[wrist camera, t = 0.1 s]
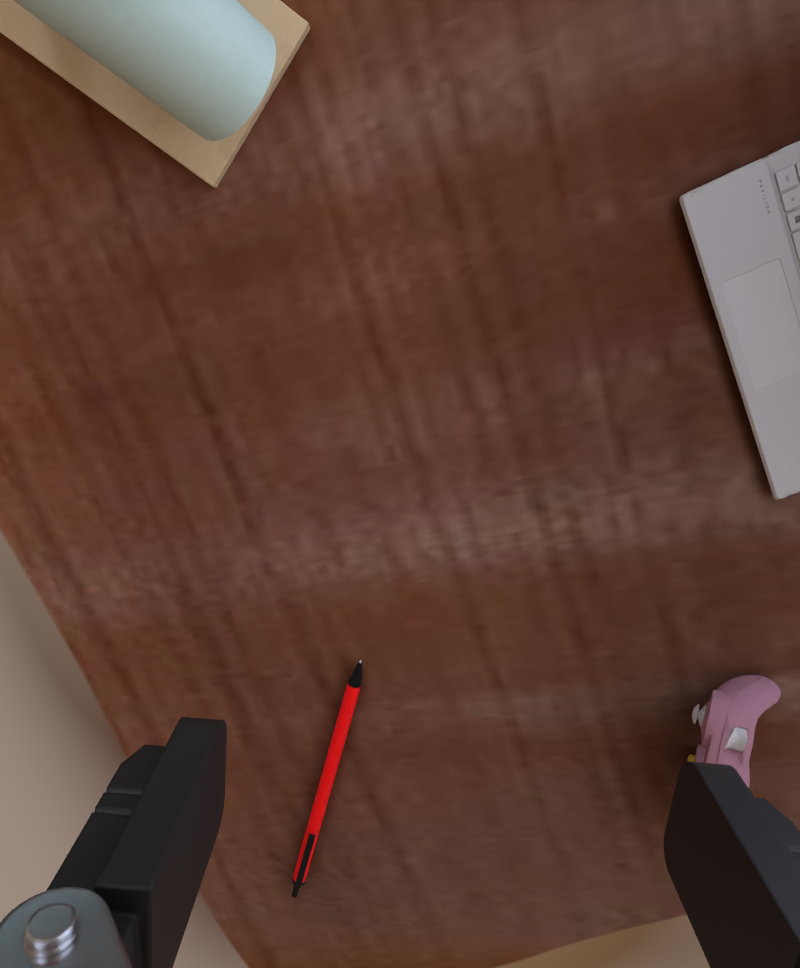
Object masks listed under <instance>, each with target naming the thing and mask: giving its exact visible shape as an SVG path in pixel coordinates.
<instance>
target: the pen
mask: <svg viewBox="0 0 800 968" xmlns="http://www.w3.org/2000/svg"><path fill="white" fill-rule="evenodd" d="M361 680H362V660H360V662H358V664H357V666H356V668H355V670H354V671H353V673H352V675H351V677H350V679H349V680H348V682H347V686H346V689H345V693H344V697H343V700H342V704H341V707H340V711H339V714H338V718H337V722H336V725H335V729H334V732H333V736H332V739H331V743H330V746H329V750H328V754H327V757H326V761H325V764H324V768H323V771H322V775H321V779H320V782H319V786H318V789H317V793H316V796H315V800H314V804H313V807H312V811H311V814H310V818H309V821H308V825H307V829H306V832H305V836H304V839H303V843H302V846H301V850H300V854H299V857H298V861H297V864H296V868H295V871H294V875H293V878H292V882H293V884H294V888H293V892H292V897H297V894H298V891H299V888H301V886H302V885H304V883H305V880H306V876H307V873H308V869H309V866H310V862H311V859H312V855H313V852H314V848H315V845H316V841H317V838H318V834H319V831H320V827H321V824H322V820H323V817H324V814H325V810H326V807H327V803H328V800H329V796H330V793H331V789H332V786H333V782H334V779H335V775H336V772H337V768H338V765H339V761H340V758H341V754H342V751H343V747H344V744H345V740H346V737H347V733H348V730H349V726H350V723H351V719H352V716H353V712H354V709H355V706H356V702H357V699H358V695H359V692H360V688H361Z"/></svg>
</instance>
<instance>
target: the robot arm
mask: <svg viewBox="0 0 800 968" xmlns="http://www.w3.org/2000/svg"><path fill="white" fill-rule="evenodd" d="M226 730H227V729H226V722H225V721H224V720H214V719H202V718H190V717H182V718H181V719H180V720H179V722H178V723H177V725H176V727H175V729H174V731H173V733H172V735H171V737H170V739H169V741H168V743H167V745H166V747H165V746H153V745H144V746H143V747H142V748H141V749H139V750H138V751H137V752H135V753H134V754H133V755H132V756H130V757H129V758H128V759H127V760H126V761H124V762H123V763H122V764H121V765H120V766H119V768H118V770H117V772H116V773H115V775H114V777H113V778H112V780H111V782H110V784H109V785H108V787H107V791H106V793H104V794H103V795H102V797H101V799H100V801H99V802H98V804H97V806H96V807H95V812H94V813H92V814H91V816H90V818H89V819H88V821H87V823H86V824H85V826H84V828H83V829H82V831H81V833H80V835H79V837H78V838H77V840H76V841H75V843H74V845H73V847H72V848H71V850H70V852H69V853H68V855H67V857H66V859H65V860H64V862H63V864H62V865H61V867H60V869H59V870H58V872H57V874H56V875H55V877H54V879H53V881H52V882H51V884H50V886H49V887H48V889H47V891H45V892H43V893H40V894H38V895H35V896H33V897H31V898H29V899H28V900H26V901H24V902H23V903H21V904H20V905H18V906H17V907H16V908H15V909H13V910H12V911H11V912H10V913H9V914H8V915H7V916H6V917H5V918H4V919H3V920H2V921H1V923H0V968H172V967H173V964H174V961H175V958H176V955H177V953H178V950H179V947H180V944H181V941H182V938H183V935H184V932H185V929H186V926H187V923H188V920H189V917H190V914H191V911H192V908H193V905H194V902H195V899H196V896H197V894H198V891H199V888H200V885H201V882H202V879H203V876H204V873H205V870H206V867H207V864H208V861H209V858H210V855H211V852H212V849H213V846H214V844H215V841H216V838H217V835H218V831H219V828H220V823H221V819H222V813H223V807H224V798H225V769H226ZM664 855H665V861H666V866H667V869H668V872H669V875H670V877H671V879H672V882H673V884H674V886H675V888H676V891H677V893H678V895H679V897H680V900H681V902H682V904H683V907H684V909H685V911H686V913H687V916H688V918H689V920H690V922H691V925H692V927H693V929H694V931H695V934H696V936H697V938H698V940H699V943H700V945H701V947H702V950H703V952H704V954H705V956H706V959H707V961H708V963H709V965H710V968H800V832H799V831H798V830H797V828H796V827H795V825H794V824H793V822H791V821H790V820H789V819H788V818H787V817H786V816H784V815H783V814H782V813H781V812H780V811H778V810H777V809H776V808H775V807H774V806H772V805H771V804H770V803H769V802H768V801H767V800H765V799H762V798H755V797H754V796H753V794H752V793H751V791H750V790H749V788H748V787H747V785H746V784H745V782H744V781H743V779H742V778H741V776H740V775H739V774H738V772H737V771H736V769H735V768H734V767H732V766H731V765H724V764H712V763H701V762H689V761H687V762H685V763H684V764H683V765H682V766H681V769H680V772H679V775H678V779H677V783H676V788H675V792H674V796H673V800H672V804H671V808H670V812H669V816H668V821H667V825H666V829H665V834H664Z"/></svg>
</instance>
